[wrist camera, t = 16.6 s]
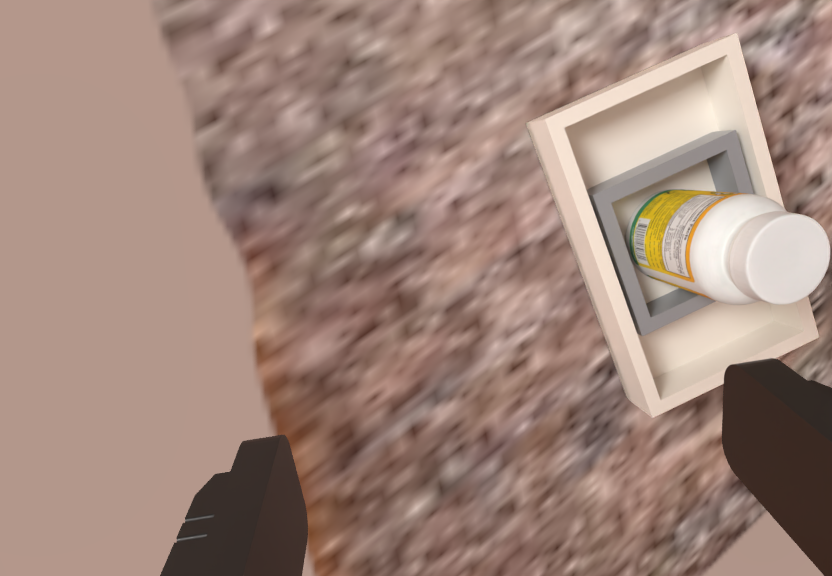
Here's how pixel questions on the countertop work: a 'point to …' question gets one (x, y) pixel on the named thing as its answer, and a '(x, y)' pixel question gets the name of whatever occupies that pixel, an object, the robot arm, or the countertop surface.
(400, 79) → the countertop surface
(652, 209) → the supplement bottle
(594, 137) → the walled box
